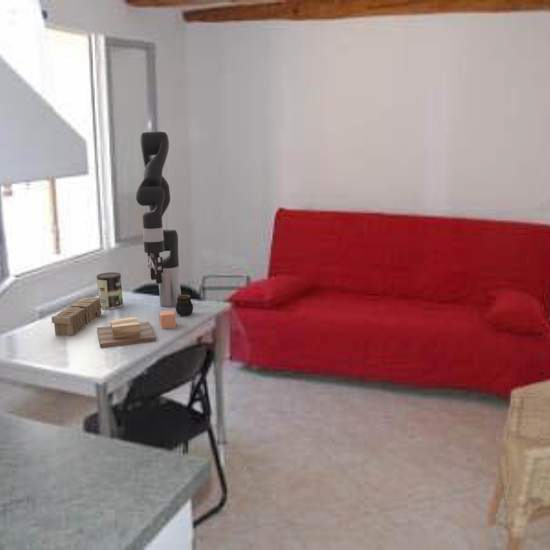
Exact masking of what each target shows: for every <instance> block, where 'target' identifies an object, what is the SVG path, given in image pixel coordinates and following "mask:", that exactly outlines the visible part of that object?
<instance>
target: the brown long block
mask: <svg viewBox="0 0 550 550" xmlns="http://www.w3.org/2000/svg"><path fill="white" fill-rule="evenodd" d="M101 315H102V308H101V300H100V297H99V296H98V297H91V296H90V297H86V298H85V297H82V298H80V299H78V300H76V302H74V303H72V304H70V306H68V307H66V308H64V309H63V310H62V311H60V312H58V313H57V314H55V315H52V316H51V324H54V335H55V336H75V335H76V334H77V333H78V332H80V331H81V330H83V329H84V328H85V327H86V326H87V325H89V324H90V323H92V321H94V320H95V319H97V318H98V317H100V316H101Z"/></svg>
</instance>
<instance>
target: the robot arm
mask: <svg viewBox="0 0 550 550" xmlns="http://www.w3.org/2000/svg"><path fill="white" fill-rule="evenodd" d="M139 139H140V140H139V142H140V143H139V144H140V149H141V154H142V160H143V167H144V170H143V177H142V181H141V183H140V184H139V186H138V187H137V190H136V192H135V198H136V202H137V204H138V205H140V206H143V207H144V206H145V207H147V206H148V207H149V208H148V209H149V211H147V212H144V213H143V214H142V228H143V233H142V235H143V237H142V238H143V250H144V253H145V254H147V265H148V266H147V267H148V269H149V271H150V272H149V273H150V279H151V280H152V281H154V280H155V284H157V285H158V291H159V305H160V306H161V307H165V308H166V307H167V308H169V307H170V308H171V307H176V304H177V297H178V296H179V295H178V294H180V295H182V291H181V280H180V276H181V275H180V264H179V260H180V258H179V236H178V232H177V230H176V229H163V219H162V218H163V216H164V214H165V212H166V211H167V209H168V208H169V205H170V202H171V194H170V192H171V191H170V186H169V183H168V181H167V179H166V178H165V177H164V176H163V170H164V167H165V163H166V160H167V157H168V154H169V150H170V149H169V148H170V142H169V136H168V134H167V133H166V132H165V131H147V132H142V133H141V134H140V138H139ZM152 156H154V157H153V158H152ZM163 252H169V254H168V255H167V256H165V257H162V256H161V255H160V253H163Z"/></svg>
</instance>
